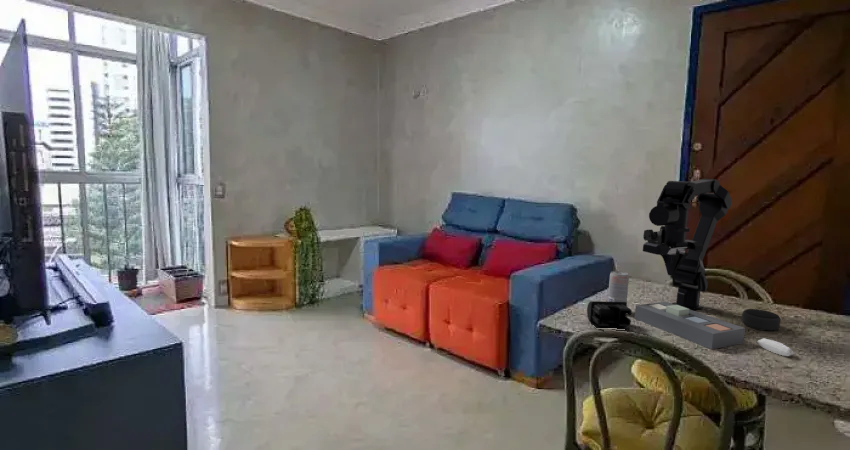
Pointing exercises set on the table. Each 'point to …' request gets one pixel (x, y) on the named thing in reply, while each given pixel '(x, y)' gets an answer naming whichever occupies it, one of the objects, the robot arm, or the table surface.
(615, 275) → the energy drink
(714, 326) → the key terracotta
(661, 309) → the key ivory
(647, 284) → the table surface
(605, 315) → the end cap
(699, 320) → the key slate
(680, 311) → the key sage
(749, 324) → the smart speaker
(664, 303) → the keypad
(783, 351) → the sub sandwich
